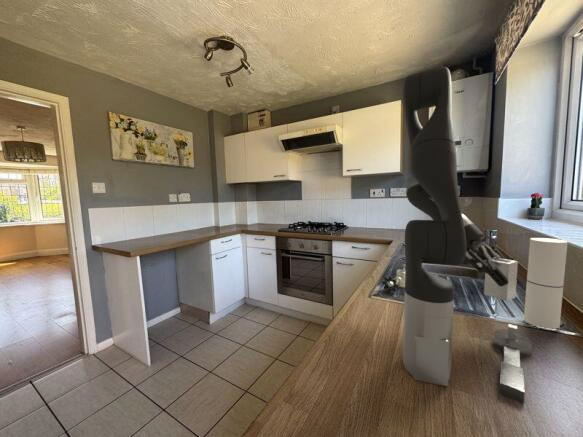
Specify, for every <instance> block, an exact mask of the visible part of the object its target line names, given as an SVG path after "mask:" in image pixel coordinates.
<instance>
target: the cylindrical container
mask: <svg viewBox="0 0 583 437" xmlns="http://www.w3.org/2000/svg"><path fill="white" fill-rule="evenodd" d="M567 252H568V241H567V240H563V239H558V238H546V237H530V238H529V251H528V262H527V273H526V274H527V275H526V288H525V299H524V301H525V302H524V314H523V321H524V320H525V321H527V322H528V323H530V324H533V325H535V326H540V327H544V328H553V329H556V328H559V329H560V328H561V325H560V324H561V314H562V306H563V305H562V304H563V294H564V283H565V275H566V274H565V271H566V261H567ZM525 321H524V322H525Z"/></svg>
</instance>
